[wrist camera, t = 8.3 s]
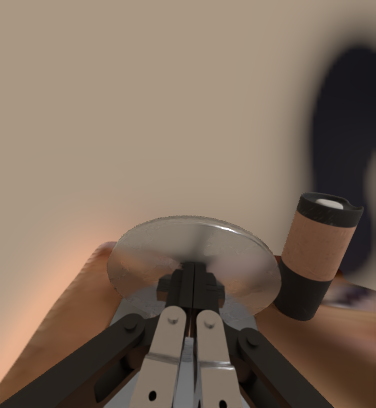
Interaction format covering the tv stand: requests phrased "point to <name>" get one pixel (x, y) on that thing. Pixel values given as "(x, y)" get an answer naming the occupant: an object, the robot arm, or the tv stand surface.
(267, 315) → the tv stand surface
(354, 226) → the travel mug
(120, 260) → the lid
